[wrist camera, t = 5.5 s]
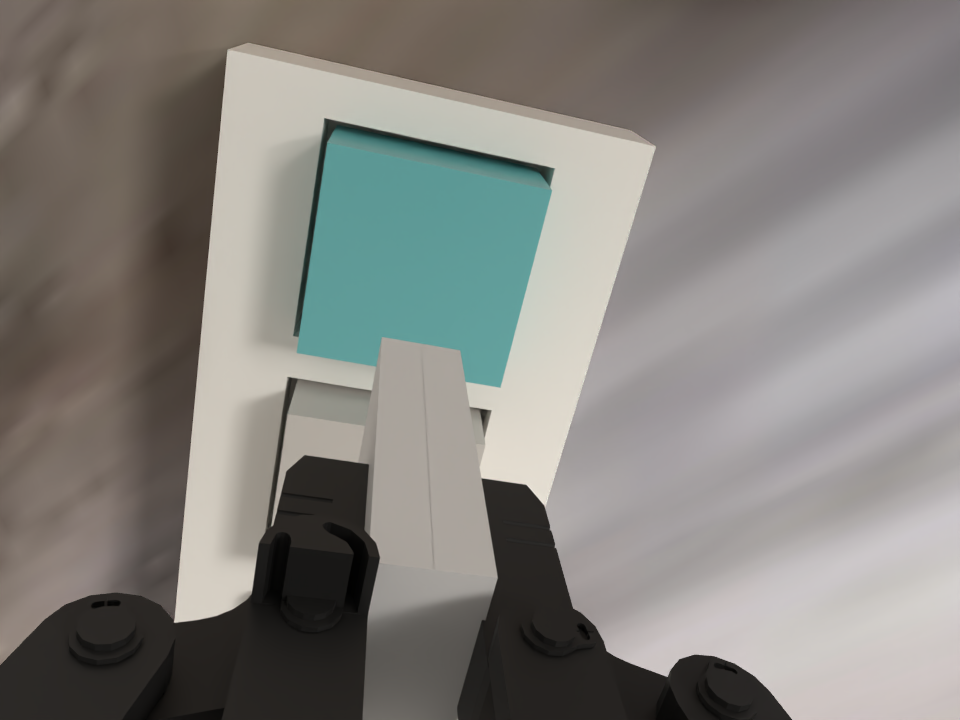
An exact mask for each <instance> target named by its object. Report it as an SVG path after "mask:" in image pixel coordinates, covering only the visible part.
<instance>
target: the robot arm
mask: <svg viewBox="0 0 960 720" xmlns="http://www.w3.org/2000/svg"><path fill="white" fill-rule="evenodd" d="M554 547H555V542H554V539H553V535H552V532H551V530H550V524H549V521H548V517H547V514H546V510H545V507H544V504H543V503H542V502H541V501H540V500H539V499H538V497H537V496H536V495H535V494H534V493H533V492H532V491H531V489H530V488H529V487H528V486H527V485H525V484H518V483H511V482H504V481H497V480H490V479H483V478H481V473H480V467H479V461H478V455H477V449H476V443H475V437H474V431H473V425H472V418H471V412H470V406H469V400H468V394H467V388H466V382H465V376H464V370H463V364H462V358H461V352H460V350H455V349H449V348H443V347H437V346H432V345H426V344H420V343H414V342H408V341H403V340H397V339H391V338H385V337H382V339H381V344H380V350H379V355H378V360H377V365H376V371H375V376H374V381H373V386H372V392H371V397H370V402H369V407H368V413H367V418H366V423H365V428H364V434H363V439H362V444H361V449H360V455H359V460H358V463H357V462H350V461H343V460H336V459H329V458H322V457H315V456H308V455H304V456H303V457H302V458H301V459H299V460H298V461H297V462H296V463H295V464H294V465H293V466H292V467H291V468H289V469H288V470H287V471H286V475H285V479H284V483H283V487H282V491H281V496H280V500H279V504H278V508H277V513H276V516H275V520H274V524H273V526H272V527H270V528H268V529H267V530H266V532H265V534H264V535H263V537H262V538H261V540H260V542H259V545H258V552H257V559H256V567H255V574H254V581H253V588H252V594H251V595H250V596H249V598H248V599H247V600H246V601H244V602H243V603H241V604H240V605H238V606H237V607H235V608H234V609H232V610H230V611H227V612H225V613H222V614H220V615H217V616H214V617H209V618H204V619H200V620H193V621H185V622H178V623H173V619H172V618H171V617H170V616H169V615H168V613H167V612H166V611H165V610H164V609H163V608H162V606H161V605H159V604H157V603H154V602H152V601H150V600H148V599H146V598H144V597H142V596H137V595H130V594H122V593H109V594H100V595H91V596H88V597H85V598H82V599H79V600H77V601H74V602H71V603H69V604H66V605H64V606H63V607H61V608H60V609H59V610H57V611H56V612H54V613H53V614H52V615H50V616H49V617H48V618H46V619H45V620H44V621H43V622H42V623H41V624H40V625H39V626H38V627H37V628H36V629H35V630H34V631H33V632H32V633H31V634H30V635H29V636H28V637H27V638H26V639H25V640H24V641H23V642H22V643H21V645H20V646H19V647H18V648H17V649H16V650H15V651H14V652H13V653H12V654H11V655H10V656H9V657H8V658H7V659H6V660H5V661H4V662H3V663H2V664H1V665H0V720H457V718H458V720H792V719H791V718H790V717H789V715H788V714H787V713H786V711H785V710H784V709H783V708H782V706H781V705H780V704H779V703H778V701H777V700H776V699H775V697H774V696H773V695H772V694H771V692H770V691H769V690H768V689H767V688H766V687H765V686H764V685H763V684H762V683H761V682H760V681H759V680H758V679H757V678H756V677H755V676H753V675H752V674H750V673H748V672H747V671H745V670H744V669H742V668H740V667H739V666H737V665H736V664H734V663H731V662H728V661H725V660H723V659H720V658H717V657H714V656H704V655H692V656H689V657H685V658H682V659H679V661H678V662H677V663H676V664H675V665H674V667H673V668H672V669H671V671H670V673H669V675H668V677H666V676H663V675H660V674H657V673H655V672H652V671H649V670H646V669H644V668H641V667H638V666H635V665H633V664H630V663H628V662H626V661H623V660H621V659H619V658H617V657H615V656H613V655H611V654H610V653H608V652H607V651H606V648H605V645H604V641H603V640H602V638H601V636H600V634H599V632H598V631H597V629H596V627H595V626H594V625H593V624H592V623H591V622H590V621H589V620H588V619H587V618H586V617H585V616H584V615H583V614H581V613H580V612H578V611H577V610H575V609H573V607H572V603H571V600H570V596H569V592H568V589H567V585H566V582H565V578H564V575H563V571H562V567H561V564H560V560H559V557H558V553H557V550H556V548H554Z"/></svg>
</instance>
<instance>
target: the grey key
mask: <svg viewBox="0 0 960 720" xmlns="http://www.w3.org/2000/svg"><path fill="white" fill-rule="evenodd" d="M371 392H372V391H371V390H365V389H359V388H353V387H347V386H341V385H335V384H329V383H323V382H317V381H311V380H305V379H298V381H297V384H296V387H295V391H294V394H293V397H292V401H291V404H290V408H289V411H288V415H287V422H286V429H285V435H284V442H283V449H282V456H281V463H280V470H279V476H278V483H277V490H276V497H275V504H274V511H273V517H272V524H271V527H272V526H273V524H274V520H275V516H276V513H277V508H278V504H279V500H280V496H281V491H282V487H283V483H284V479H285V475H286V471H287V470H288V469H289V468H291V467H292V466H293V465H294V464H295V463H296V462H297V461H298V460H299V459H301V458H302V457H303V456H304V455H308V456H315V457H322V458H329V459H336V460H343V461H350V462H357V463H358V460H359V455H360V449H361V444H362V439H363V434H364V428H365V423H366V418H367V413H368V407H369V402H370V397H371ZM470 412H471V418H472V425H473V431H474V437H475V443H476V449H477V455H478V461H479V467H480V464H481V460H482V456H483V453H484V449H485V439H484V433H483V427H482V420H481V414H480V408H474V407H470Z"/></svg>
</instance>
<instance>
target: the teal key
mask: <svg viewBox="0 0 960 720" xmlns="http://www.w3.org/2000/svg"><path fill="white" fill-rule="evenodd" d="M551 193H552V189H551V188H550V187H549V185H548V184H547V182H546V181H545V179H544V178H543V177H542V175H541V174H540V172H539V171H538V169H537V168H534V167H529V166H525V165H520V164H516V163H511V162H506V161H502V160H497V159H493V158H488V157H483V156H479V155H474V154H469V153H465V152H460V151H456V150H451V149H446V148H442V147H437V146H433V145H428V144H423V143H419V142H414V141H409V140H405V139H400V138H396V137H391V136H386V135H382V134H377V133H373V132H368V131H363V130H359V129H354V128H349V127H345V126H340V125H337V126H336V128H335V130H334V132H333V133H332V135H331V137H330V139H329V140H328V142H327V148H326V155H325V162H324V169H323V175H322V182H321V189H320V196H319V203H318V210H317V216H316V223H315V230H314V237H313V244H312V251H311V257H310V264H309V271H308V278H307V285H306V292H305V299H304V305H303V312H302V319H301V326H300V333H299V340H298V346H297V353H299V354H305V355H311V356H316V357H322V358H328V359H334V360H340V361H346V362H352V363H358V364H364V365H369V366H375V367H376V365H377V360H378V355H379V350H380V344H381V339H382V337H385V338H391V339H397V340H403V341H408V342H414V343H420V344H426V345H432V346H437V347H443V348H449V349H455V350H460V352H461V358H462V364H463V370H464V376H465V382H469V383H475V384H481V385H487V386H493V387H499V388H501V384H502V380H503V376H504V373H505V369H506V365H507V361H508V357H509V353H510V350H511V346H512V342H513V338H514V334H515V331H516V327H517V323H518V319H519V315H520V312H521V308H522V304H523V300H524V296H525V292H526V289H527V285H528V281H529V277H530V273H531V270H532V266H533V262H534V258H535V254H536V251H537V247H538V243H539V239H540V235H541V231H542V228H543V224H544V220H545V216H546V212H547V209H548V205H549V201H550V197H551Z"/></svg>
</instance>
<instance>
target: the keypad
mask: <svg viewBox="0 0 960 720" xmlns="http://www.w3.org/2000/svg"><path fill="white" fill-rule="evenodd" d="M337 125H340V126H345V127H349V128H354V129H359V130H363V131H368V132H373V133H377V134H382V135H386V136H391V137H396V138H400V139H405V140H409V141H414V142H419V143H423V144H428V145H433V146H437V147H442V148H446V149H451V150H456V151H460V152H465V153H469V154H474V155H479V156H483V157H488V158H493V159H497V160H502V161H506V162H511V163H516V164H520V165H525V166H529V167H534V168H537V169H538V171H539V172H540V174H541V175H542V177H543V178H544V179H545V181H546V182H547V184H548V185H549V187H550V188H551V189H552V193H551V197H550V201H549V205H548V209H547V212H546V216H545V220H544V224H543V228H542V231H541V235H540V239H539V243H538V247H537V251H536V254H535V258H534V262H533V266H532V270H531V273H530V277H529V281H528V285H527V289H526V292H525V296H524V300H523V304H522V308H521V312H520V315H519V319H518V323H517V327H516V331H515V334H514V338H513V342H512V346H511V350H510V353H509V357H508V361H507V365H506V369H505V373H504V376H503V380H502V384H501V388H499V387H493V386H487V385H481V384H475V383H469V382H466V388H467V394H468V400H469V406H470V407H474V408H480V414H481V420H482V427H483V433H484V439H485V449H484V453H483V456H482V460H481V464H480V473H481V478H483V479H490V480H497V481H504V482H511V483H518V484H525V485H527V486H528V487H529V488H530V489H531V491H532V492H533V493H534V494H535V495H536V496H537V497H538V499H539V500H540V501H541V502H542V503H543V504H544V507H545V506H546V503H547V500H548V496H549V493H550V490H551V487H552V483H553V480H554V477H555V474H556V470H557V467H558V464H559V461H560V457H561V454H562V451H563V448H564V444H565V441H566V438H567V435H568V431H569V428H570V425H571V422H572V418H573V415H574V412H575V409H576V405H577V402H578V399H579V396H580V392H581V389H582V386H583V383H584V379H585V376H586V373H587V370H588V366H589V363H590V360H591V357H592V353H593V350H594V347H595V344H596V340H597V337H598V334H599V331H600V327H601V324H602V321H603V318H604V314H605V311H606V308H607V305H608V301H609V298H610V295H611V292H612V288H613V285H614V282H615V279H616V275H617V272H618V269H619V266H620V262H621V259H622V256H623V253H624V249H625V246H626V243H627V240H628V236H629V233H630V230H631V227H632V223H633V220H634V217H635V214H636V210H637V207H638V204H639V201H640V197H641V194H642V191H643V188H644V184H645V181H646V178H647V175H648V171H649V168H650V165H651V162H652V158H653V155H654V152H655V149H656V146H654V145H653V144H651V143H650V142H648V141H647V140H645V139H644V138H642V137H640V136H639V135H637V134H636V133H634V132H633V131H631V130H628V129H623V128H619V127H615V126H610V125H606V124H602V123H597V122H593V121H589V120H584V119H580V118H575V117H571V116H567V115H562V114H558V113H554V112H549V111H545V110H541V109H536V108H532V107H527V106H523V105H519V104H514V103H510V102H506V101H501V100H497V99H492V98H488V97H484V96H479V95H475V94H471V93H466V92H462V91H458V90H453V89H449V88H444V87H440V86H436V85H431V84H427V83H423V82H418V81H414V80H410V79H405V78H401V77H396V76H392V75H388V74H383V73H379V72H375V71H370V70H366V69H361V68H357V67H353V66H348V65H344V64H340V63H335V62H331V61H327V60H322V59H318V58H313V57H309V56H305V55H300V54H296V53H292V52H287V51H283V50H279V49H274V48H270V47H265V46H261V45H257V44H252V43H246V44H243V45H240V46H237V47H234V48H230V49H228V51H227V62H226V72H225V83H224V94H223V105H222V115H221V126H220V137H219V147H218V158H217V169H216V180H215V190H214V201H213V212H212V223H211V233H210V244H209V255H208V266H207V276H206V287H205V298H204V308H203V319H202V330H201V341H200V351H199V362H198V373H197V384H196V394H195V405H194V416H193V426H192V437H191V448H190V459H189V469H188V480H187V491H186V502H185V512H184V523H183V534H182V545H181V555H180V566H179V577H178V587H177V598H176V609H175V620H174V623H178V622H185V621H193V620H200V619H204V618H209V617H214V616H217V615H220V614H222V613H225V612H227V611H230V610H232V609H234V608H235V607H237V606H238V605H240V604H241V603H243V602H244V601H246V600H247V599H248V598H249V596H250V595H251V594H252V588H253V581H254V574H255V567H256V559H257V552H258V545H259V542H260V540H261V538H262V537H263V535H264V534H265V532H266V530H267V529H268V528H270V527H271V524H272V517H273V511H274V504H275V497H276V490H277V483H278V476H279V470H280V463H281V456H282V449H283V442H284V435H285V429H286V422H287V415H288V411H289V408H290V404H291V401H292V397H293V394H294V391H295V387H296V384H297V381H298V379H305V380H311V381H317V382H323V383H329V384H335V385H341V386H347V387H353V388H359V389H365V390H371V391H372V386H373V381H374V376H375V371H376V367H375V366H369V365H364V364H358V363H352V362H346V361H340V360H334V359H328V358H322V357H316V356H311V355H305V354H299V353H297V346H298V340H299V333H300V326H301V319H302V312H303V305H304V299H305V292H306V285H307V278H308V271H309V264H310V257H311V251H312V244H313V237H314V230H315V223H316V216H317V210H318V203H319V196H320V189H321V182H322V175H323V169H324V162H325V155H326V148H327V142H328V140H329V139H330V137H331V135H332V133H333V132H334V130H335V128H336V126H337ZM457 720H458V718H457Z"/></svg>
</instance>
